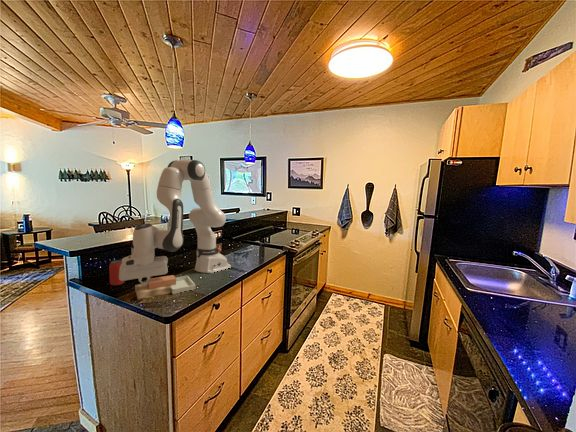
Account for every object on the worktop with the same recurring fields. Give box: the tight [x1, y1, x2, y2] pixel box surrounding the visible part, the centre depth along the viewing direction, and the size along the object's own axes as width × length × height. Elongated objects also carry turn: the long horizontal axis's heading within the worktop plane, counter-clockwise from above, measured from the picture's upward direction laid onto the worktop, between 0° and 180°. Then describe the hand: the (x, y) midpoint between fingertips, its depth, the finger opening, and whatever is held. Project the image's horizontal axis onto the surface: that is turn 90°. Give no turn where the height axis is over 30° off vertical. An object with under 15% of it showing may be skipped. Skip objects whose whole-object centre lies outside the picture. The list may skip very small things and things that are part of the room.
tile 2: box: [160, 274, 176, 287], centre depth 124 cm, size 6×6×3 cm
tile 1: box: [148, 276, 163, 289], centre depth 120 cm, size 6×6×3 cm
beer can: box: [108, 259, 126, 286], centre depth 127 cm, size 7×7×12 cm
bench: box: [134, 283, 172, 301], centre depth 120 cm, size 14×11×3 cm
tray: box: [170, 275, 197, 295], centre depth 128 cm, size 11×15×2 cm
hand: (144, 285), depth 117 cm, fingers closed
